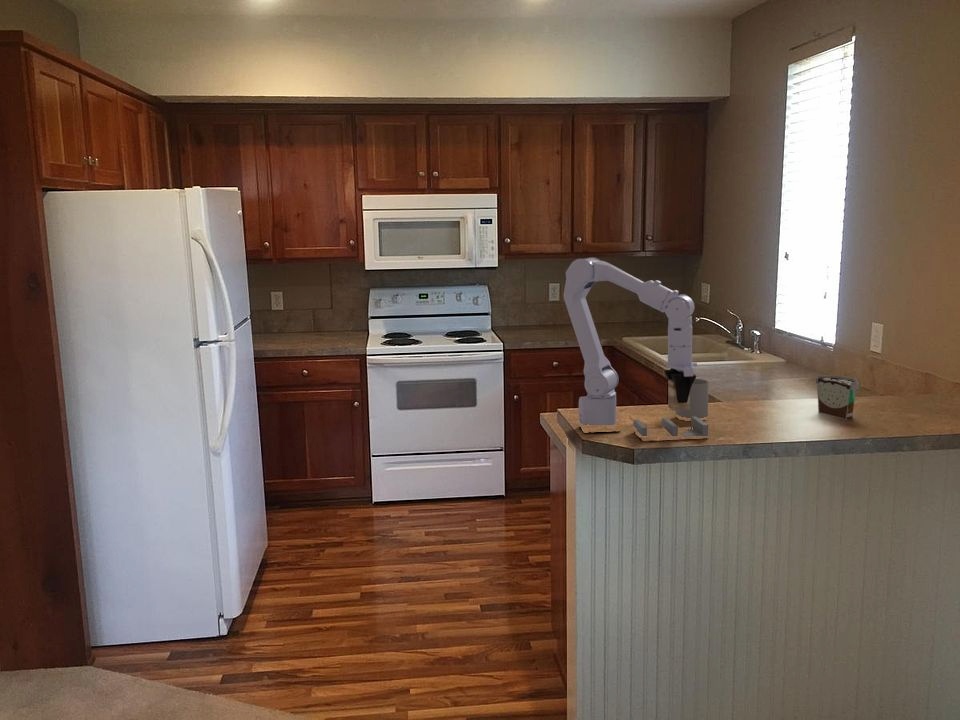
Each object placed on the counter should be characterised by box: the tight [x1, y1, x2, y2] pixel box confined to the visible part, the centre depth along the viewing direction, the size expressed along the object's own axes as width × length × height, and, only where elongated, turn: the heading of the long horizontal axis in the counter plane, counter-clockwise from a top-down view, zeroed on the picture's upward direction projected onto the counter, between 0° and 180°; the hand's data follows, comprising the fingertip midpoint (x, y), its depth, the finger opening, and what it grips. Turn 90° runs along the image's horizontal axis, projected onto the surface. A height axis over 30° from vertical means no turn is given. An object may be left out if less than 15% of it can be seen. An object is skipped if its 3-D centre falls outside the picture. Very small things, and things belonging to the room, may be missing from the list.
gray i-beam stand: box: [632, 416, 709, 437], centre depth 191 cm, size 16×9×4 cm, turn 93°
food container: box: [814, 374, 860, 421], centre depth 205 cm, size 12×6×10 cm, turn 22°
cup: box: [675, 378, 710, 418], centre depth 208 cm, size 8×8×10 cm
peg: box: [667, 379, 690, 412], centre depth 189 cm, size 4×4×7 cm
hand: (679, 400), depth 189 cm, fingers closed on peg, 4 cm apart
